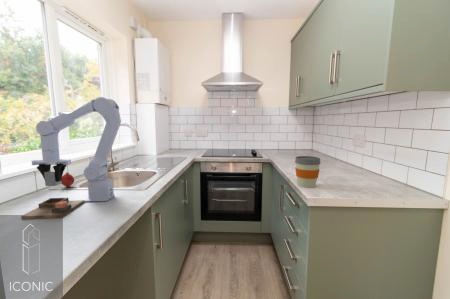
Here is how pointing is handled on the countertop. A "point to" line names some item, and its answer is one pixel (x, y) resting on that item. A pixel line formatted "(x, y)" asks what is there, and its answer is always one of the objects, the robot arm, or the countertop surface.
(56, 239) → the countertop surface
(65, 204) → the button
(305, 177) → the reusable coffee cup
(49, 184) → the block
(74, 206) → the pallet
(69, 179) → the onion
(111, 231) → the countertop surface
